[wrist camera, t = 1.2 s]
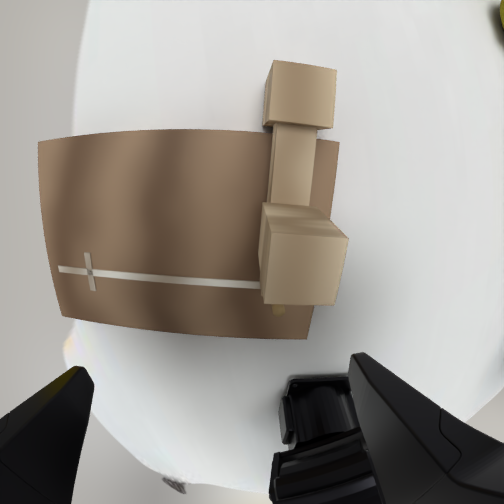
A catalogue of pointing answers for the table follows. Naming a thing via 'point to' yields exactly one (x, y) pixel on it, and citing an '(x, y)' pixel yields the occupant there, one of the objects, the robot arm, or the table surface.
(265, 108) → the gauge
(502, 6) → the lemon
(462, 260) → the table surface
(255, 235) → the board
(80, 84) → the table surface
